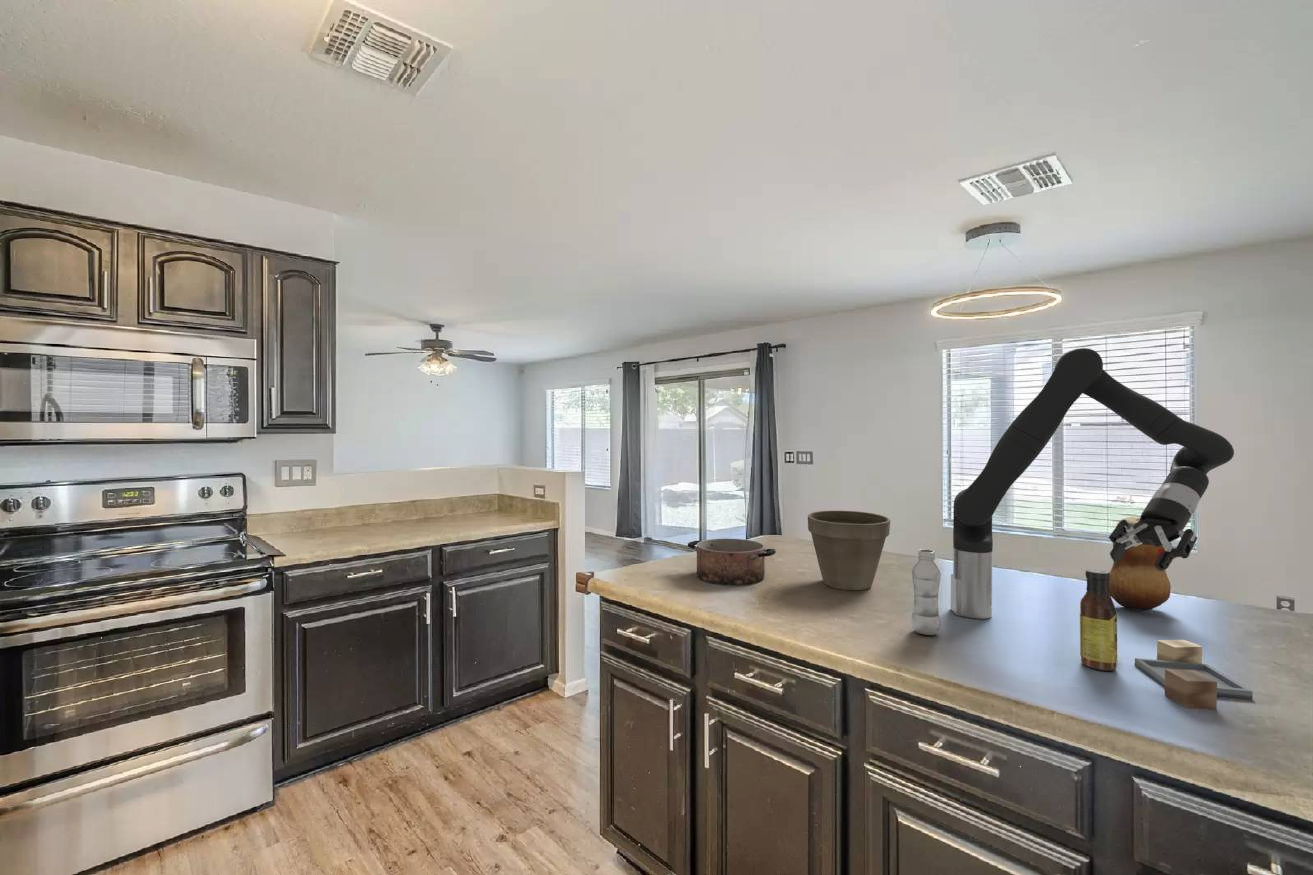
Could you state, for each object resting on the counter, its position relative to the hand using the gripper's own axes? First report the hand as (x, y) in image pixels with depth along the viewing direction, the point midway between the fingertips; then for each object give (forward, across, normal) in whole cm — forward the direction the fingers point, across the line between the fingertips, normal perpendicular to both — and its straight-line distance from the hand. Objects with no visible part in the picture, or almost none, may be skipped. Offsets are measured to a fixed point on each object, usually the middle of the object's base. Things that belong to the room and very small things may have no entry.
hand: (1135, 563), depth 126 cm
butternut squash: (-12, -22, +42) cm, 49 cm away
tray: (+16, +11, +13) cm, 23 cm away
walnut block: (+23, +16, +6) cm, 29 cm away
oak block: (+10, +5, +19) cm, 22 cm away
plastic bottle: (+36, -27, -7) cm, 46 cm away
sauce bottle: (+23, 0, +6) cm, 24 cm away
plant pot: (+29, -70, 0) cm, 75 cm away
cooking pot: (+50, -91, -21) cm, 106 cm away
